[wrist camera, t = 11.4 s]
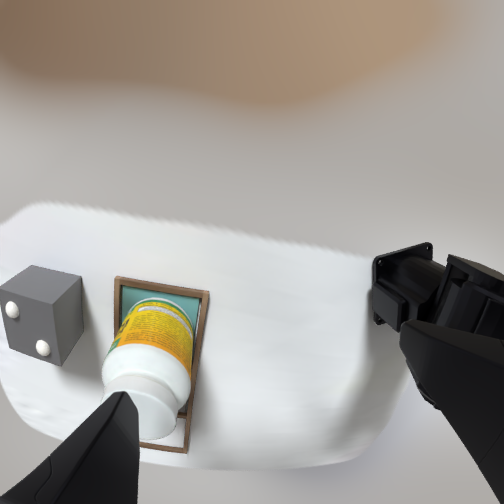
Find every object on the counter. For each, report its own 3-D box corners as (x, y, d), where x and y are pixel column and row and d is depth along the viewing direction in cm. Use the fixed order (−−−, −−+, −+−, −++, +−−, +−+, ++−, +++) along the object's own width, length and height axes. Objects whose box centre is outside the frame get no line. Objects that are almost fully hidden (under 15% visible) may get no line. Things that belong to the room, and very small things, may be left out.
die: (31, 265, 18) (-7, 291, 13) (81, 276, 19) (48, 308, 14) (36, 318, 19) (6, 352, 14) (83, 331, 20) (58, 371, 15)
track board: (116, 275, 19) (114, 278, 19) (208, 291, 21) (208, 294, 20) (125, 440, 24) (124, 443, 24) (186, 450, 26) (186, 453, 25)
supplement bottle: (188, 359, 22) (184, 454, 13) (124, 346, 21) (93, 434, 12) (199, 302, 21) (196, 393, 12) (129, 287, 20) (83, 368, 11)
